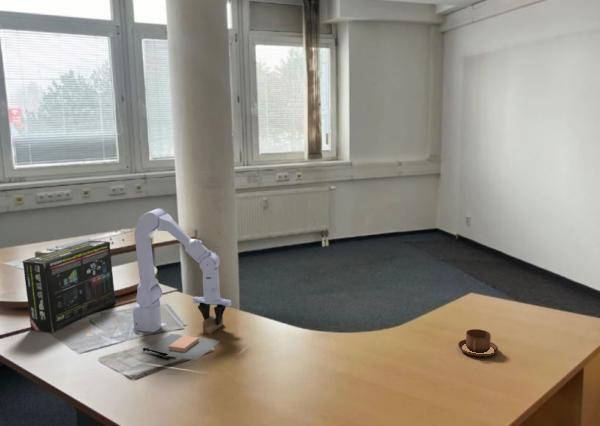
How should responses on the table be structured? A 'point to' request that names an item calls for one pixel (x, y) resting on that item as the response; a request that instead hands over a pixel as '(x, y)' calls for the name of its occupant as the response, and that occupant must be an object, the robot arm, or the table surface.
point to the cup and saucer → (478, 342)
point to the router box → (68, 284)
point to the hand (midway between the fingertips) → (213, 323)
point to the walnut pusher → (211, 324)
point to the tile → (183, 343)
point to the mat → (191, 353)
